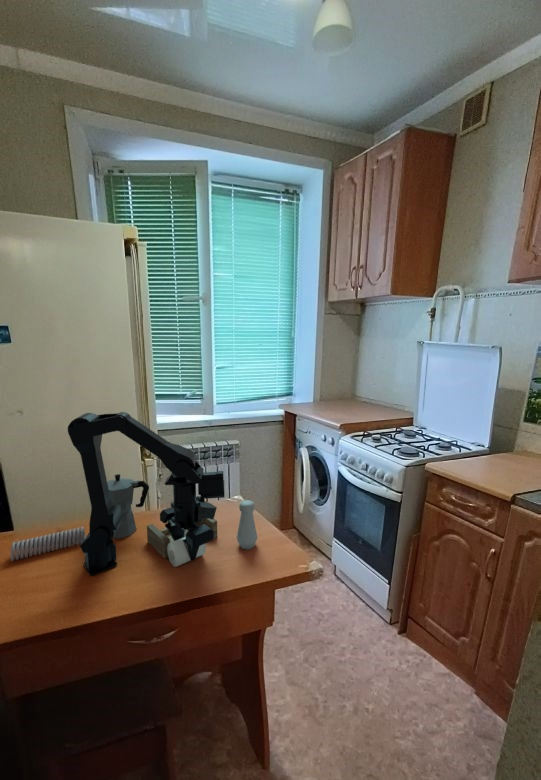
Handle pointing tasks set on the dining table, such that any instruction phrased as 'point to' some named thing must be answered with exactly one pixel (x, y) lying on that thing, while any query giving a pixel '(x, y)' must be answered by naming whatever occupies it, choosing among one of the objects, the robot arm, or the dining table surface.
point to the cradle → (163, 537)
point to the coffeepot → (126, 502)
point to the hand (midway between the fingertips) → (186, 554)
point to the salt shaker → (247, 525)
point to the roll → (181, 552)
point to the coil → (47, 543)
